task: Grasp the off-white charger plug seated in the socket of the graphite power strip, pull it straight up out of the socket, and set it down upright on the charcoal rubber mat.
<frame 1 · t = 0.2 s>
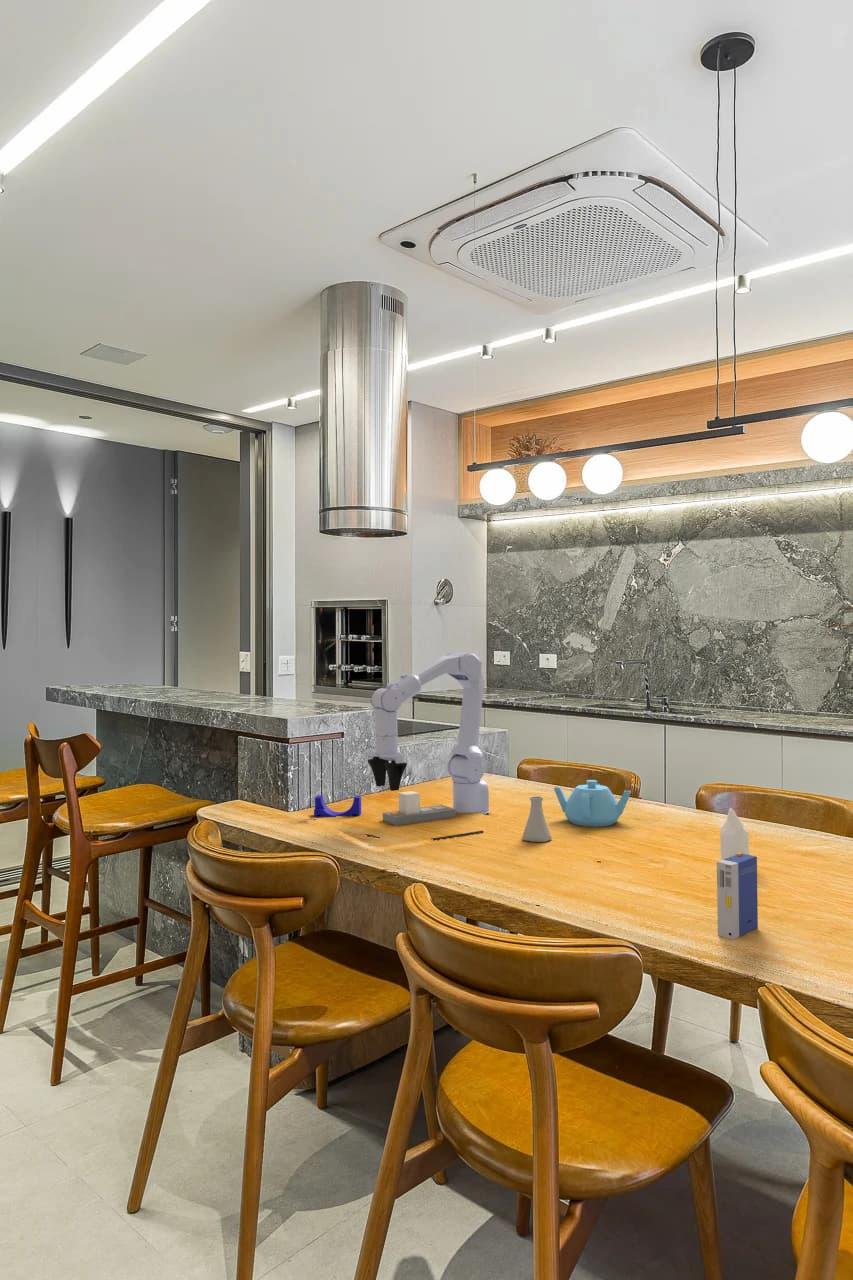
hand: (387, 788, 210), 10 cm above the table, tool pointing down, fingers open, 7 cm apart
blue arch block: (337, 820, 219), on the table
rubber mat: (448, 832, 201), on the table
flask: (536, 840, 194), on the table
teapot: (592, 822, 212), on the table
glue bottle: (735, 867, 168), on the table
walkman: (738, 932, 131), on the table
charger plug: (409, 820, 211), point 1 cm above the table, touching power strip
power strip: (419, 822, 213), on the table
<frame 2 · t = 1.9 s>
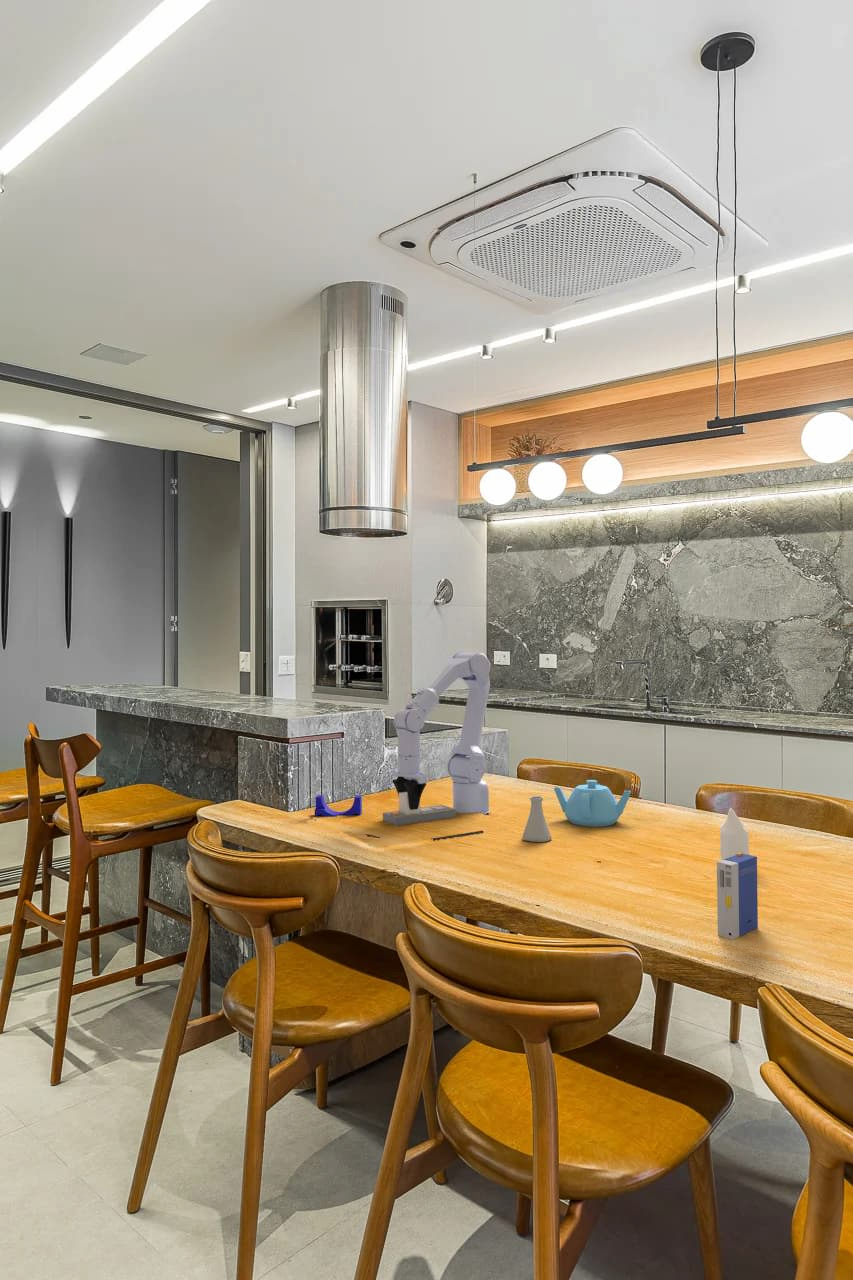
hand: (409, 807, 211), 4 cm above the table, tool pointing down, fingers closed on charger plug, 4 cm apart
charger plug: (409, 820, 211), point 1 cm above the table, touching gripper, power strip
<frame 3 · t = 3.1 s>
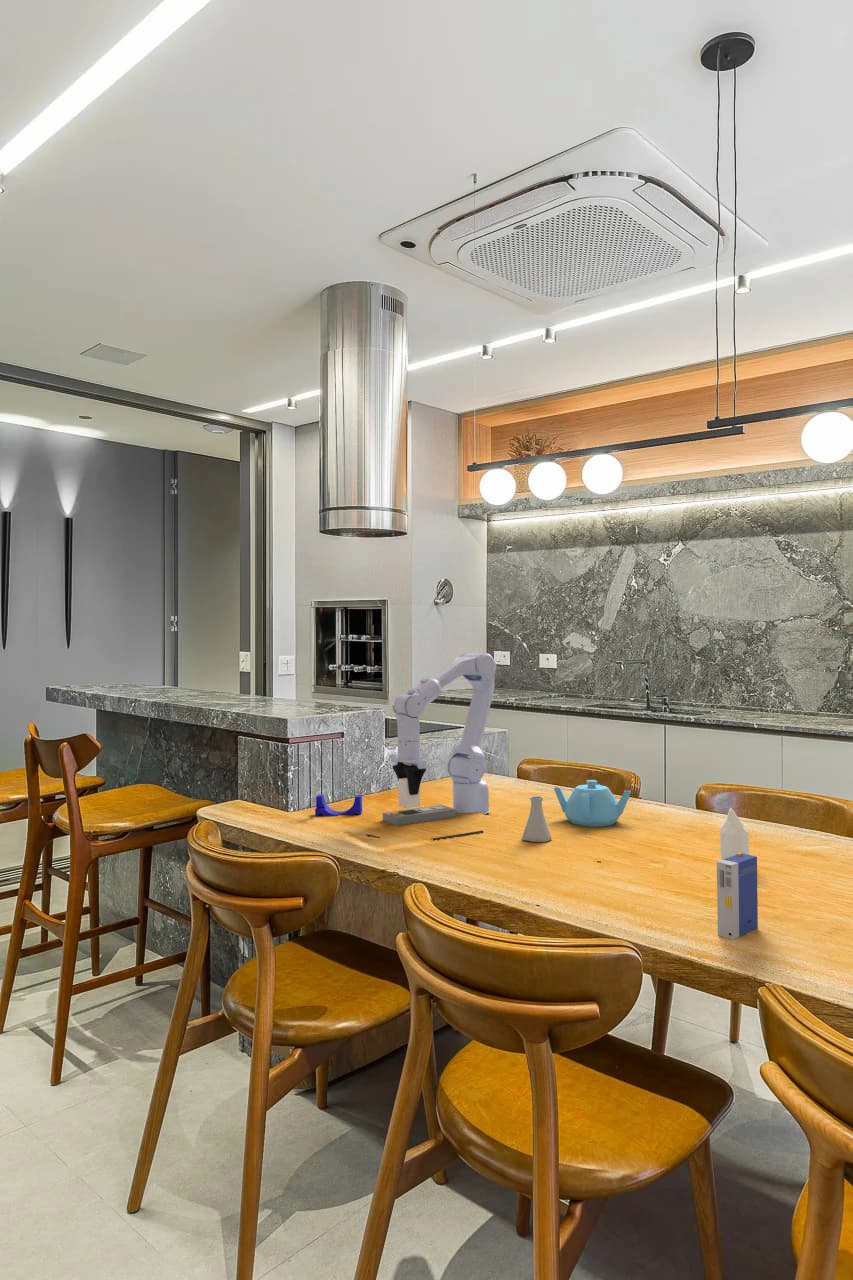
hand: (409, 793, 211), 8 cm above the table, tool pointing down, fingers closed on charger plug, 4 cm apart
charger plug: (409, 805, 211), point 5 cm above the table, touching gripper
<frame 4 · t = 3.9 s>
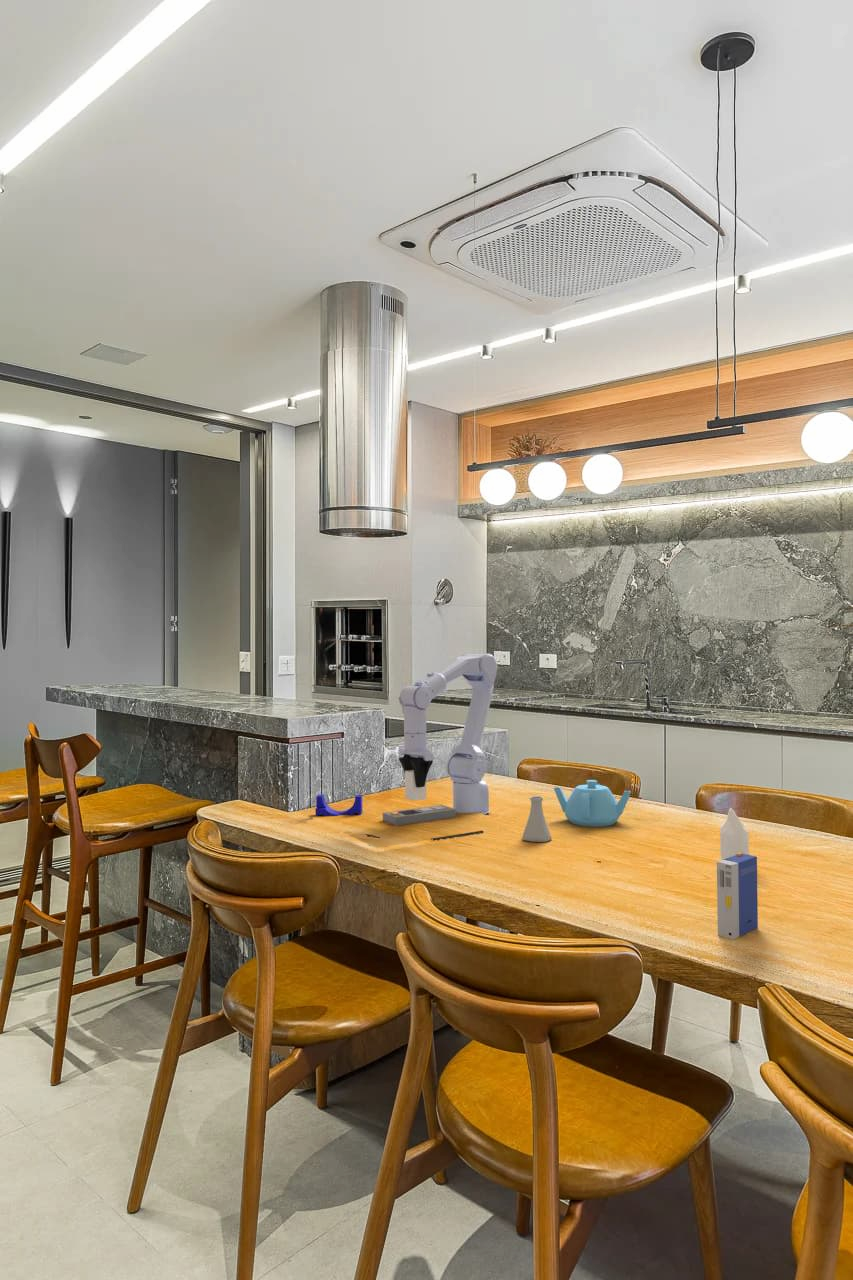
hand: (415, 785, 210), 10 cm above the table, tool pointing down, fingers closed on charger plug, 4 cm apart
charger plug: (415, 798, 210), point 7 cm above the table, touching gripper
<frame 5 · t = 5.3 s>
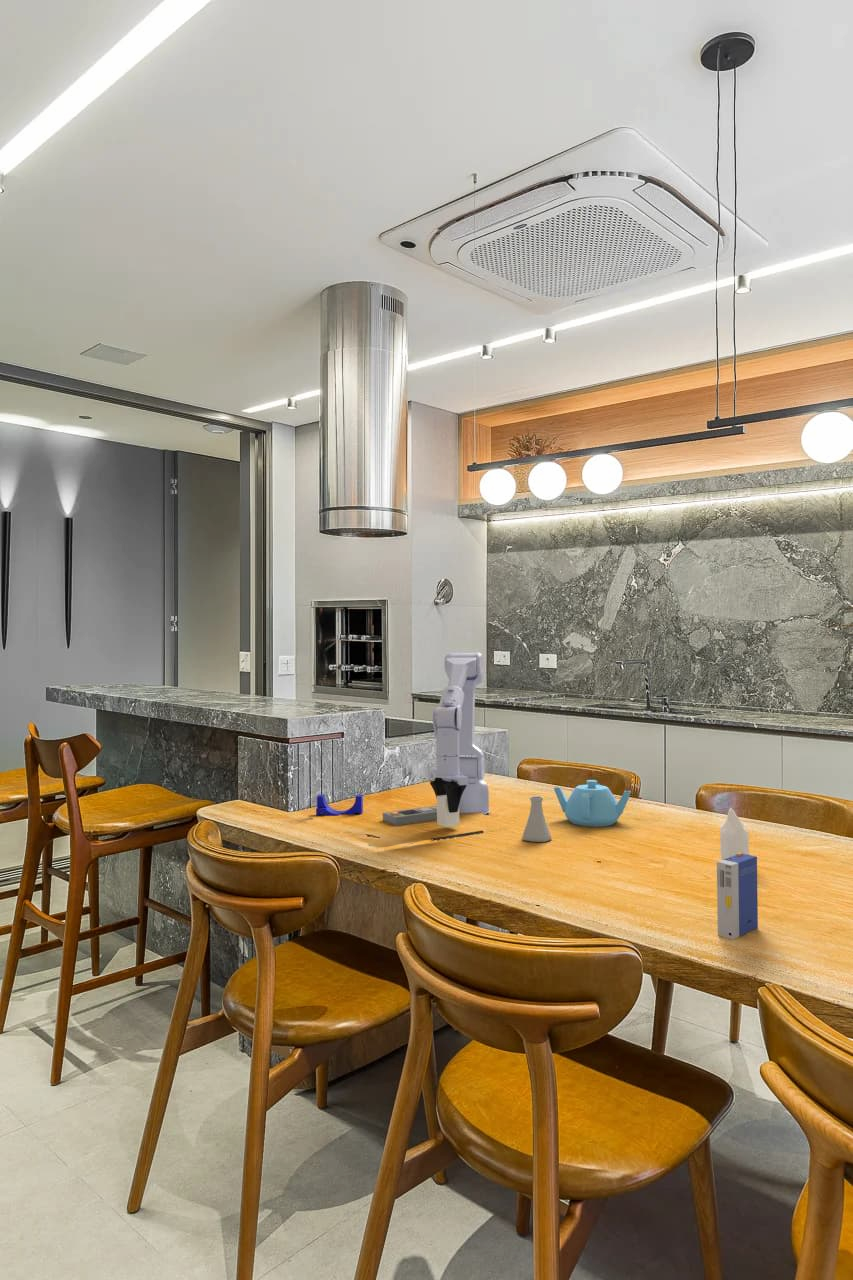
hand: (448, 810, 201), 5 cm above the table, tool pointing down, fingers closed on charger plug, 4 cm apart
charger plug: (448, 824, 201), point 2 cm above the table, touching gripper
when the fingers open (5 cm above the table, at t = 6.2 s): charger plug drops 1 cm, resting on rubber mat.
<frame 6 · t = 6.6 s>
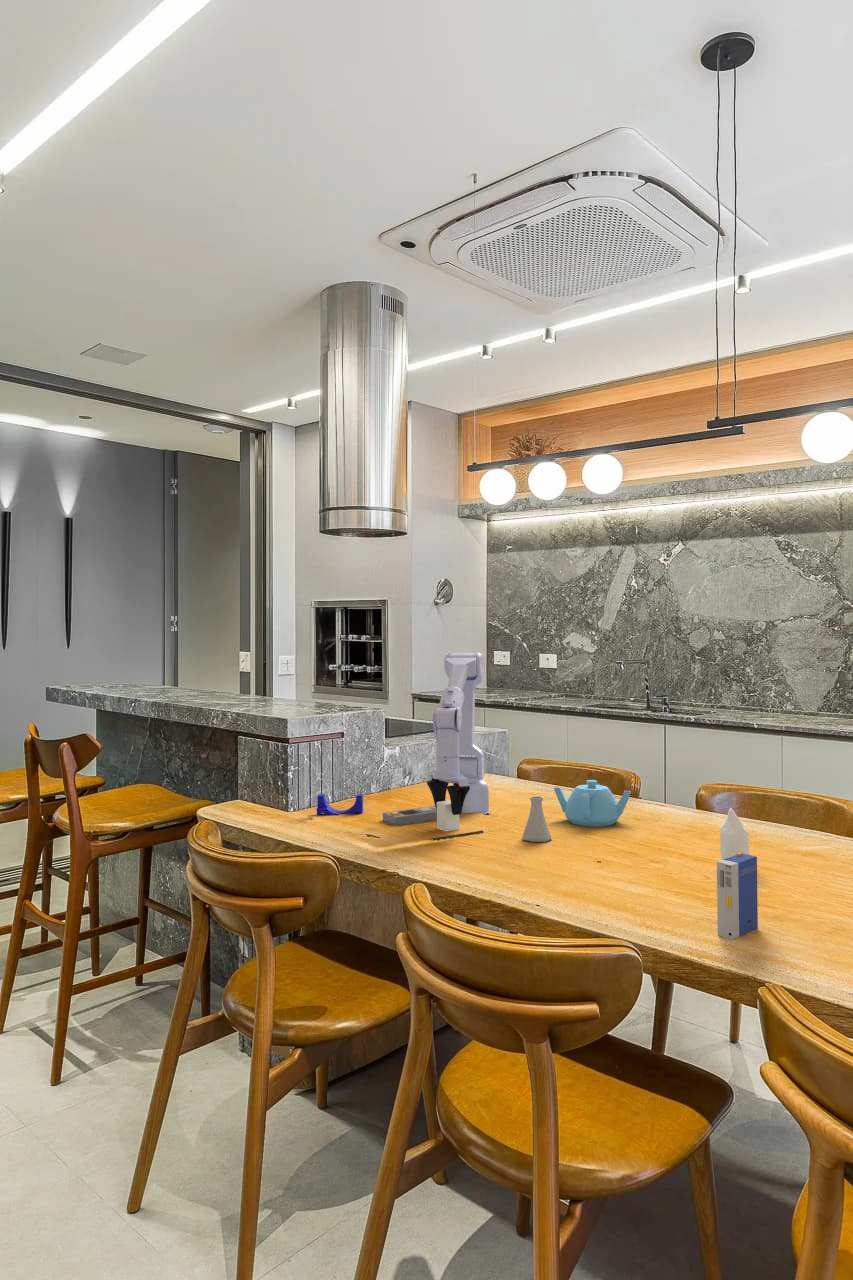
hand: (448, 811, 201), 5 cm above the table, tool pointing down, fingers open, 7 cm apart
charger plug: (448, 830, 201), resting on rubber mat
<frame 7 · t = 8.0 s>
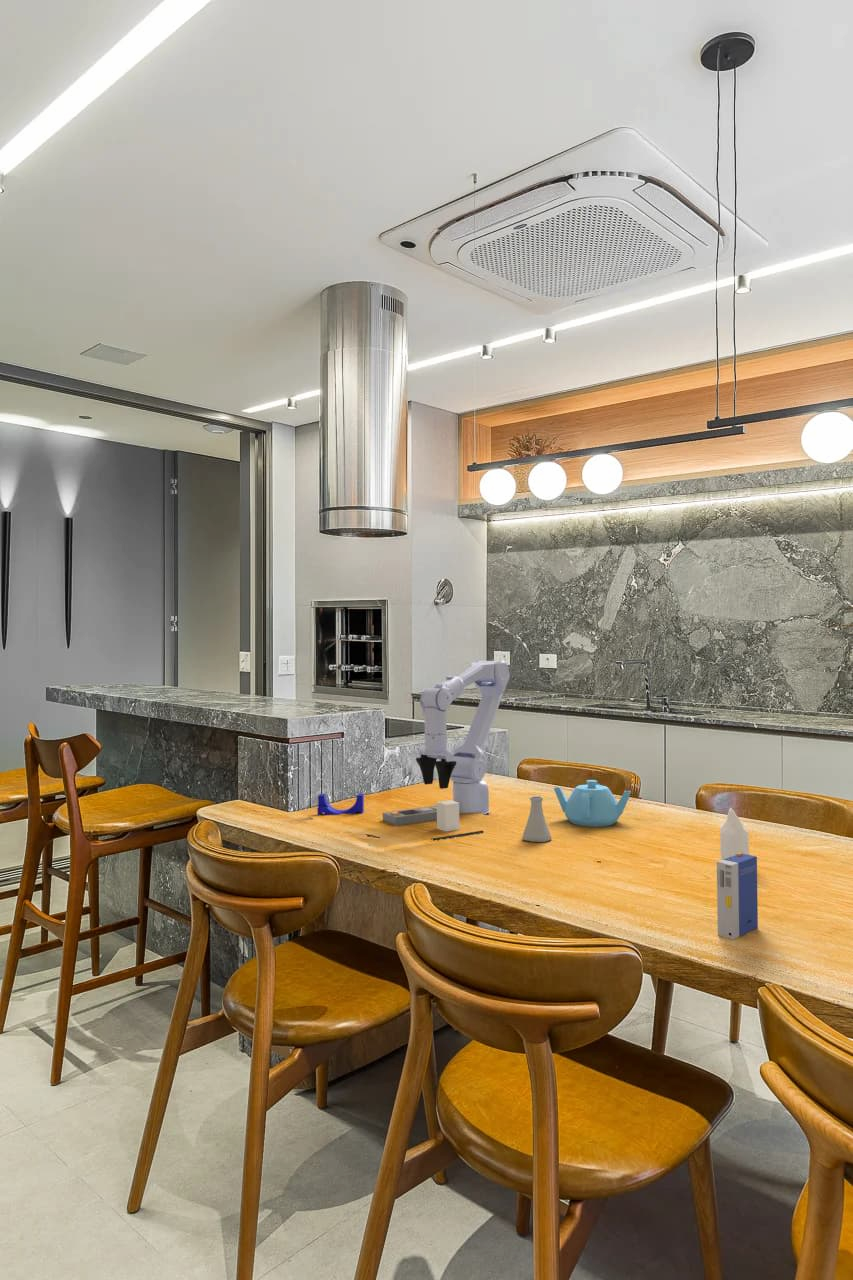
hand: (436, 786, 213), 9 cm above the table, tool pointing down, fingers open, 7 cm apart
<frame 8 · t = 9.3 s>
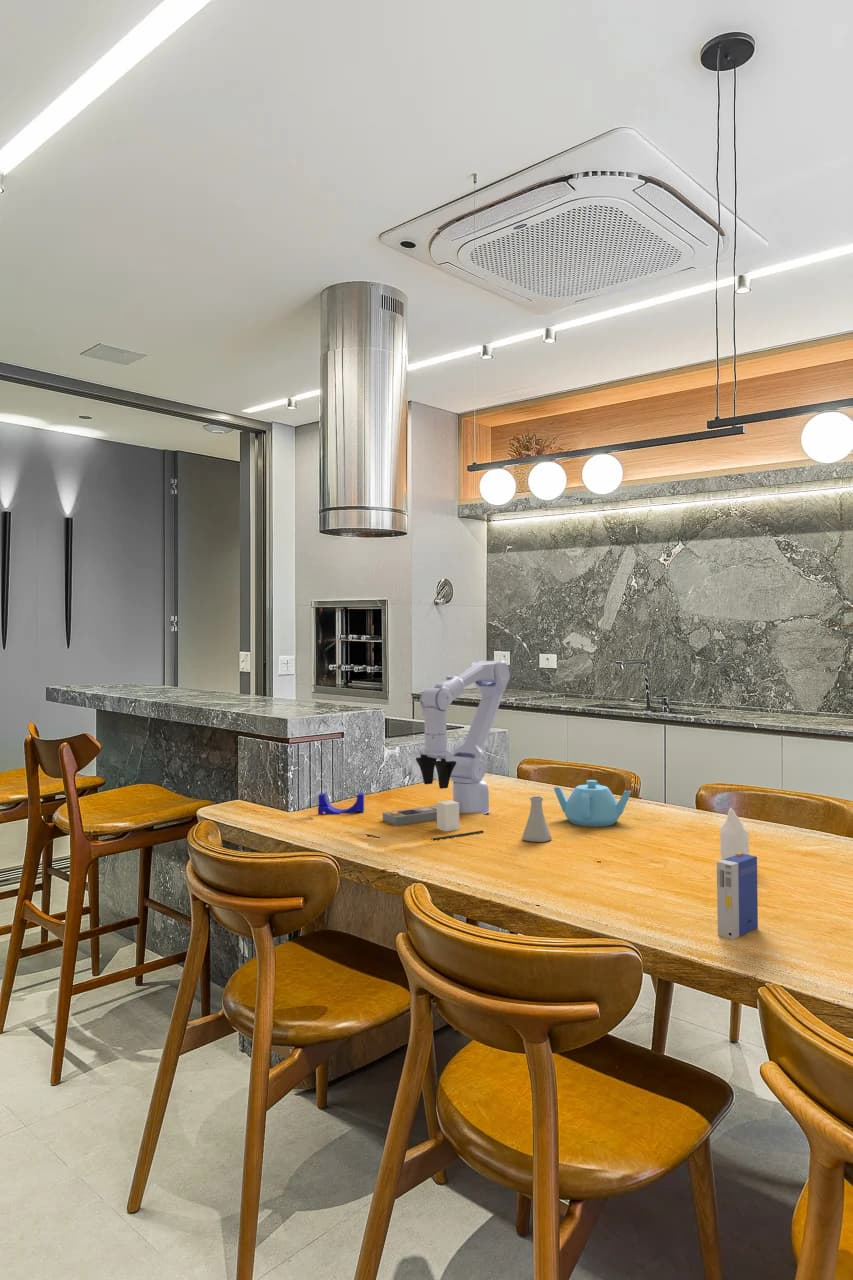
hand: (435, 786, 213), 9 cm above the table, tool pointing down, fingers open, 7 cm apart
at the end: charger plug inside the target area (0.1 cm from its centre), point 0.5 cm above the table; charger plug tilted 0°; the gripper is holding nothing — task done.
